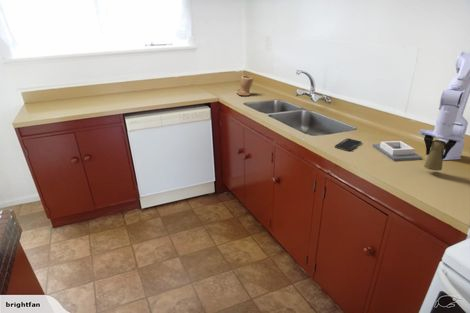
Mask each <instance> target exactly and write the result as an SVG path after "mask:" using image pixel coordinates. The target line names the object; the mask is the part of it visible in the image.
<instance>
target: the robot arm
mask: <svg viewBox="0 0 470 313" xmlns="http://www.w3.org/2000/svg"><path fill="white" fill-rule="evenodd" d="M455 61H456V62H455V70H456V74H457V76H453V78H452V79H451V81H450V82H449V83H448V84H449V85H448V87H447V88H446V90H443V91H442V93H441V96H440V99H439V107H438V114H437V117H436V121H435V125H434V129H433V130H432V129H424V128H421V129H420V130H419V133H418V134H419V136H424V137H423V141H424V144H425V151H426V152H425V155H427V156H428V155H429V153H430V151H431V143H432V141H434V140H435V139H438V140H441V141H444V142H446V144H447V145H446V149H445V150H444V153H443V158H442V159H443V161H452V160H453V161H454V160H462V157H461V155H462V153H463V150H464V147H465V141H466V137H465V135H466V133H467V132H466V131H467V128H468V124H469V123H468V120H467V119H466V118H465V117H464V116H463V115H464V112H465V109H466V107H467V103H468V99H469V97H470V52H469V51H468V52H466V51H461V52H459V53H458V55H457V57H456V60H455ZM434 138H435V139H434Z"/></svg>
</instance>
